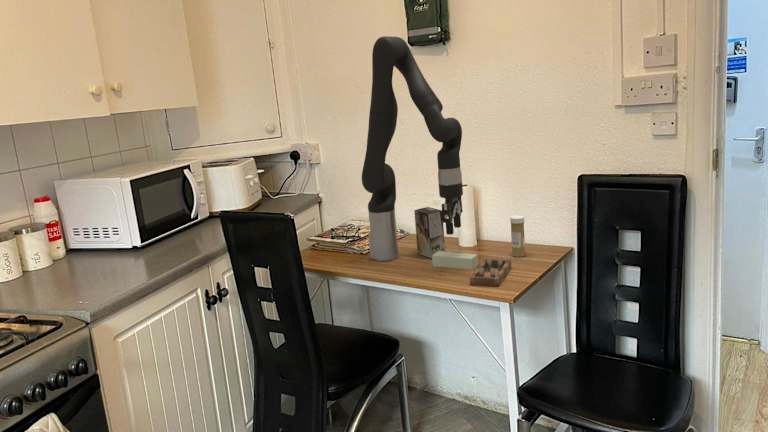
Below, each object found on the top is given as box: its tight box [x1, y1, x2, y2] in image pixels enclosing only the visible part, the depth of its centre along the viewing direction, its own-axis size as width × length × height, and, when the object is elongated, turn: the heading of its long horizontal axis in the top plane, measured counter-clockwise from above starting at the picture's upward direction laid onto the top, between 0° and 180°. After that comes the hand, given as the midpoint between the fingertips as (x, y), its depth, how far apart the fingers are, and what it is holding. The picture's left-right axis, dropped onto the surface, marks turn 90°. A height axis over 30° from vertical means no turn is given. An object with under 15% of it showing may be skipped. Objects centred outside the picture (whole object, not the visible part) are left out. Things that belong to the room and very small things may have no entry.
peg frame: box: [469, 257, 512, 288], centre depth 191 cm, size 18×9×4 cm, turn 157°
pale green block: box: [431, 251, 479, 271], centre depth 203 cm, size 14×5×4 cm, turn 60°
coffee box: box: [414, 206, 446, 259], centre depth 216 cm, size 9×6×16 cm
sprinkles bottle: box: [509, 214, 526, 258], centre depth 207 cm, size 5×5×13 cm
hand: (453, 230), depth 201 cm, fingers open, 8 cm apart
